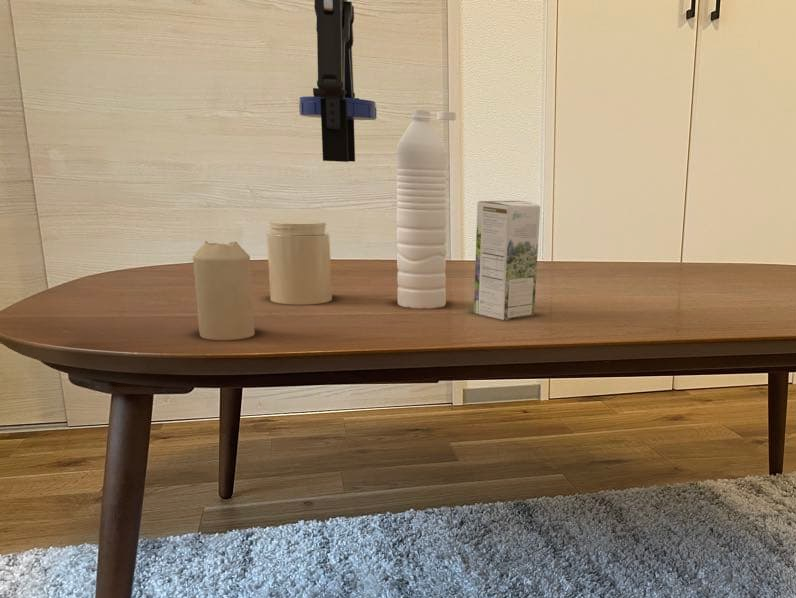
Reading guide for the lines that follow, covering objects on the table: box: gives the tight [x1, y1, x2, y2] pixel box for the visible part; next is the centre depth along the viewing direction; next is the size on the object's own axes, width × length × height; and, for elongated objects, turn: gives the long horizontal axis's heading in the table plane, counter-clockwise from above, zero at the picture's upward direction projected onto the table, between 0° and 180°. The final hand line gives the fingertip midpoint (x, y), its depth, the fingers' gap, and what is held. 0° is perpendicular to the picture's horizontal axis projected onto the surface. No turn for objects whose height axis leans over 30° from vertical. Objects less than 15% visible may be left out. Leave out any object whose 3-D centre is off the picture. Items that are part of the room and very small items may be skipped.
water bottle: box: [395, 109, 457, 310], centre depth 103 cm, size 9×6×25 cm
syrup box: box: [473, 200, 541, 321], centre depth 99 cm, size 6×6×14 cm
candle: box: [192, 240, 256, 341], centre depth 82 cm, size 6×6×10 cm
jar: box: [265, 218, 333, 305], centre depth 104 cm, size 8×8×10 cm
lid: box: [298, 95, 378, 121], centre depth 90 cm, size 8×8×2 cm
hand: (339, 161), depth 91 cm, fingers closed on lid, 8 cm apart
